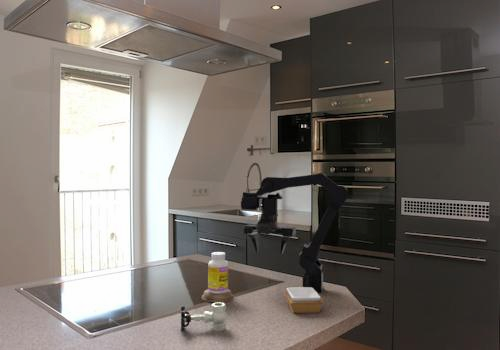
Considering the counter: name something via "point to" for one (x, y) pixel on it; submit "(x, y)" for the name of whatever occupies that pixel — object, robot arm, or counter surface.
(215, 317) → the valve
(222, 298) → the beige saucer
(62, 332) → the counter surface
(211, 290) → the supplement bottle
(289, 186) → the robot arm
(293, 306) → the soap dish
